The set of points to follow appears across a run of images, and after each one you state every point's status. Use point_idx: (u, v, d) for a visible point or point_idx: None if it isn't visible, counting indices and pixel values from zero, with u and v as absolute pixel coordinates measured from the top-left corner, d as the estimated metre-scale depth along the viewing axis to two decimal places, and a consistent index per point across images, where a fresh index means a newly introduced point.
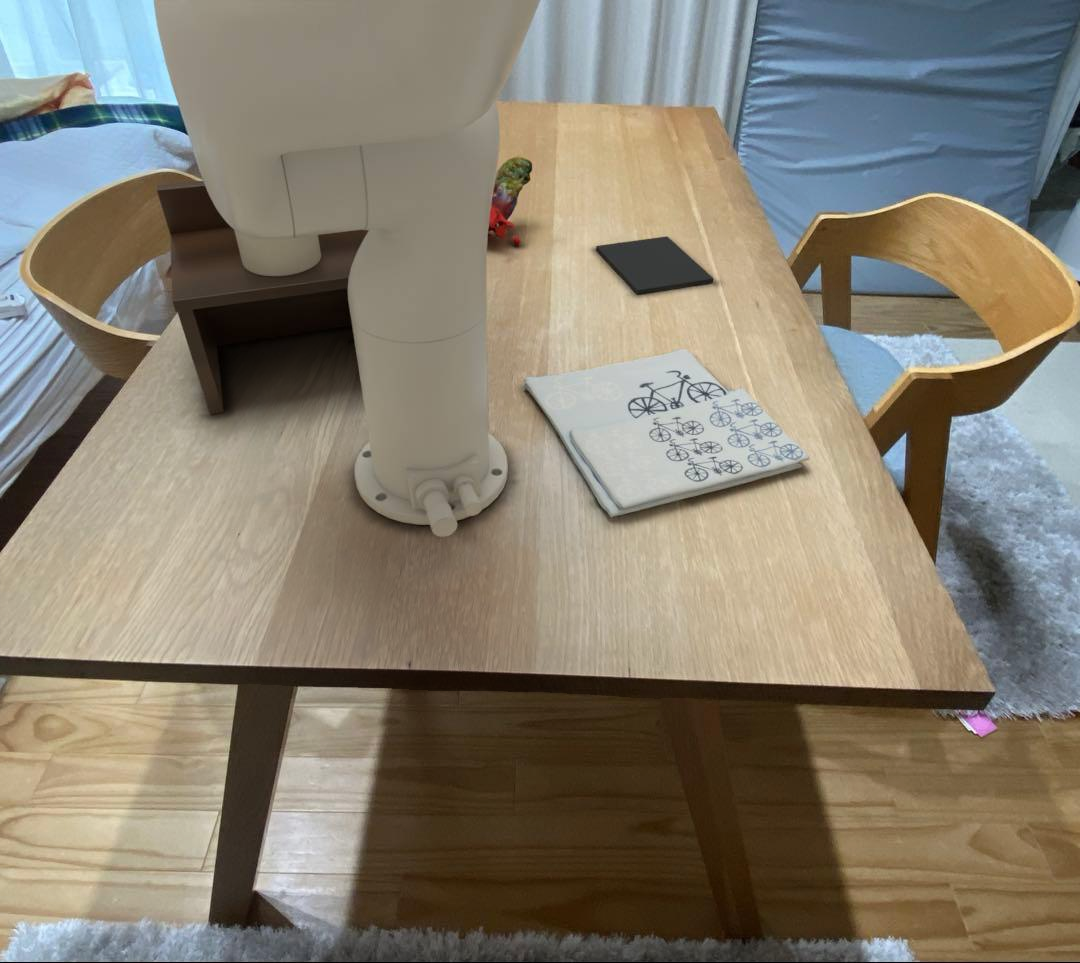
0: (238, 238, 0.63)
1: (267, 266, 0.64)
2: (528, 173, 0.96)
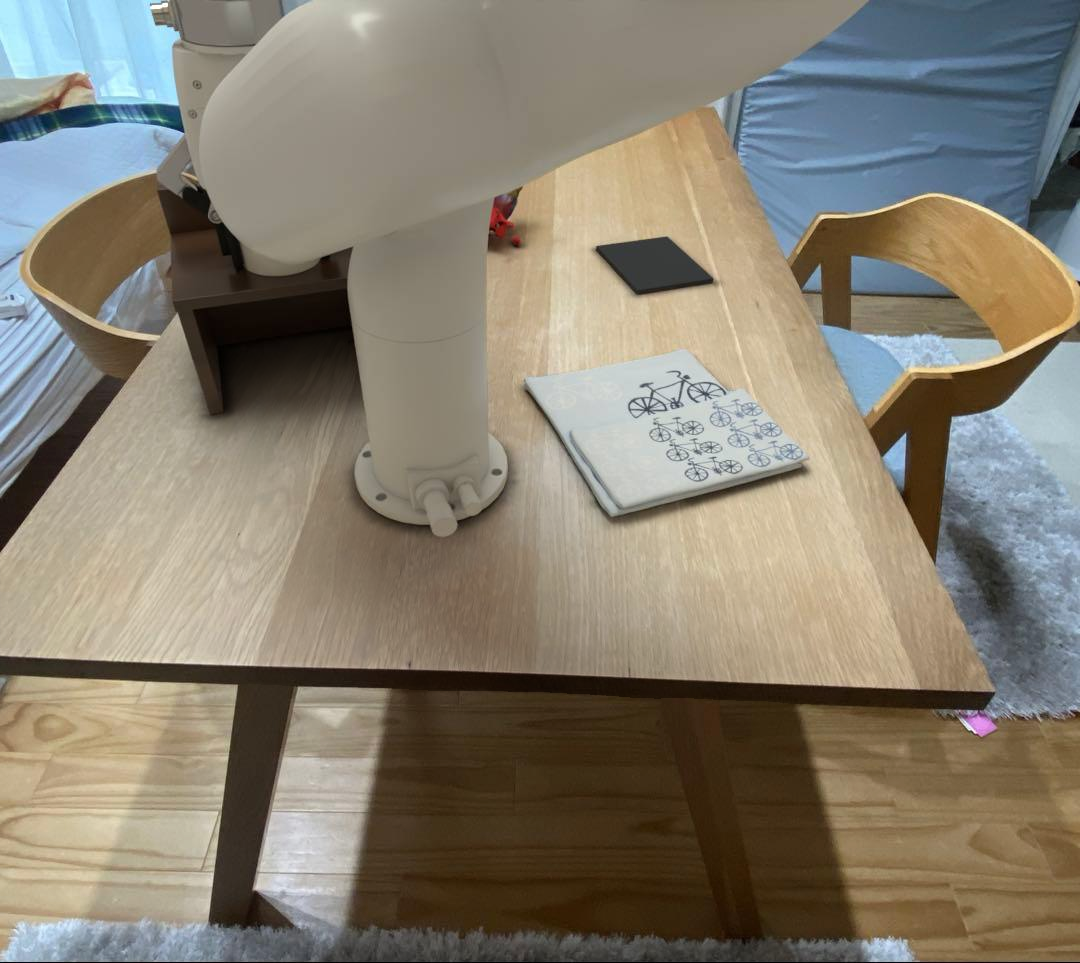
0: None
1: (267, 266, 0.64)
2: None
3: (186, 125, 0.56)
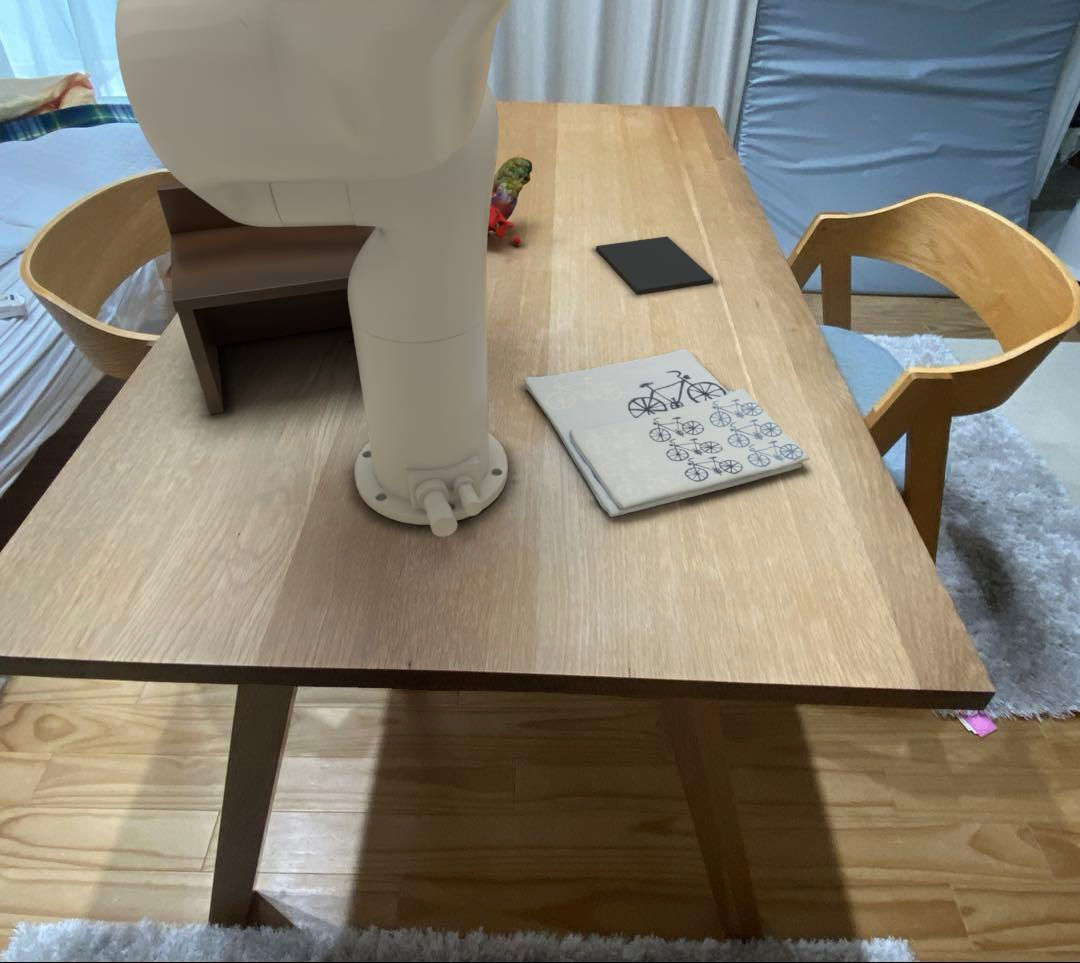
0: None
1: None
2: (528, 173, 0.96)
3: None
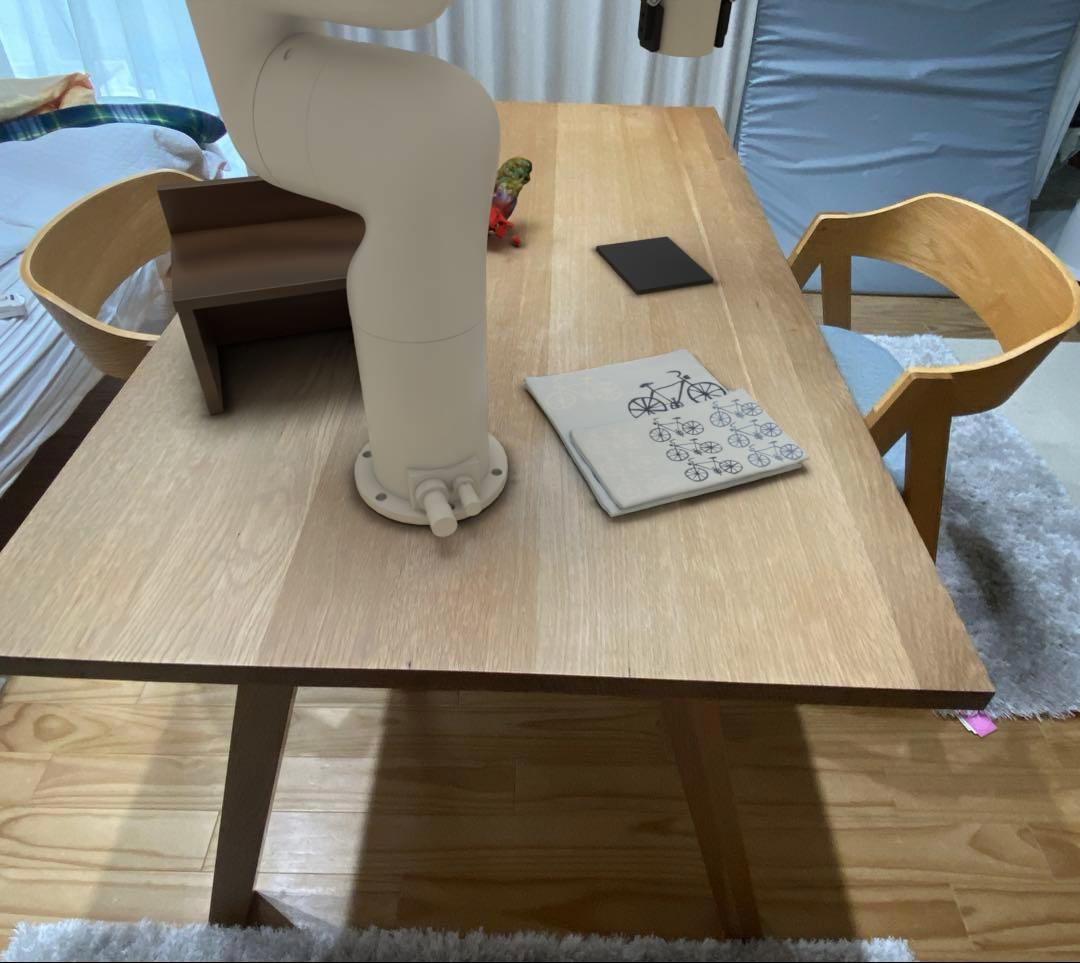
0: None
1: (683, 47, 0.75)
2: (528, 173, 0.96)
3: None
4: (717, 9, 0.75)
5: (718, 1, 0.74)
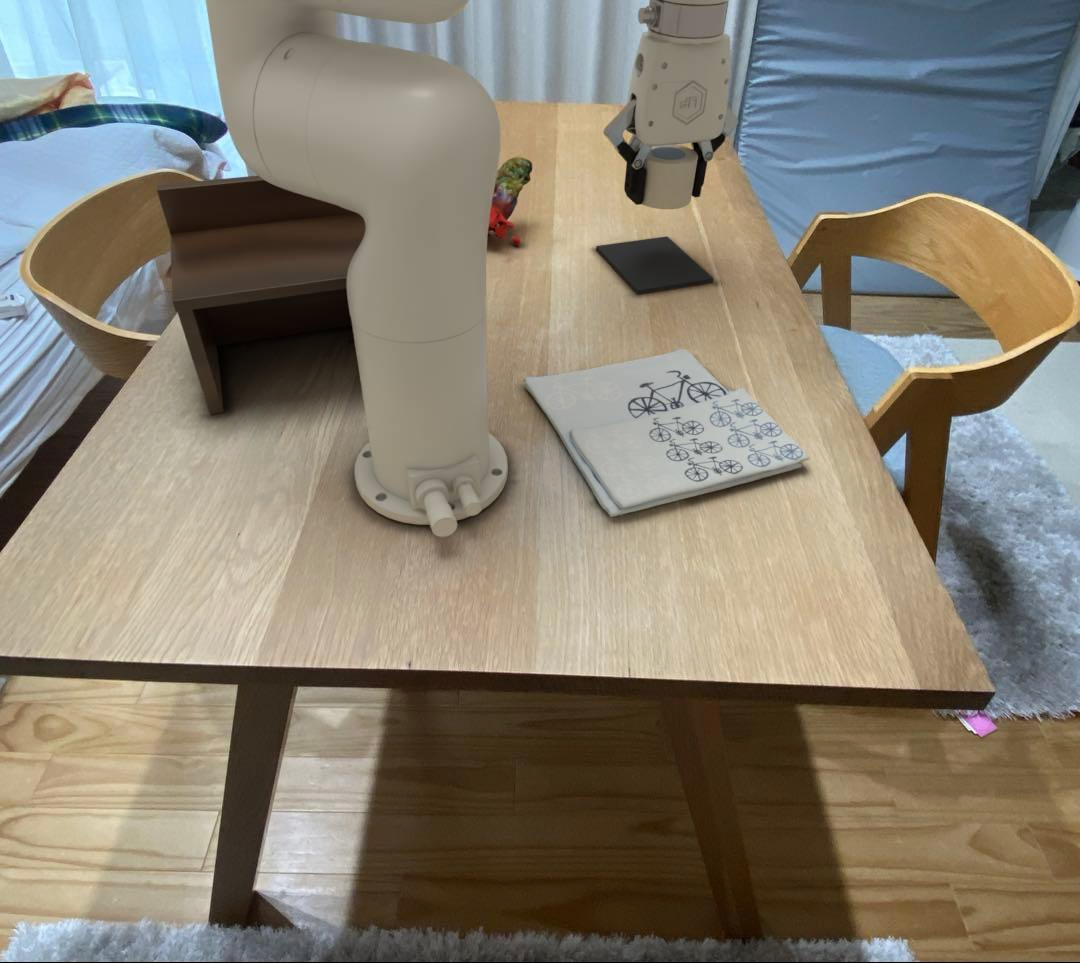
0: None
1: (664, 201, 0.86)
2: (528, 173, 0.96)
3: (647, 95, 0.78)
4: (693, 170, 0.85)
5: (694, 164, 0.85)
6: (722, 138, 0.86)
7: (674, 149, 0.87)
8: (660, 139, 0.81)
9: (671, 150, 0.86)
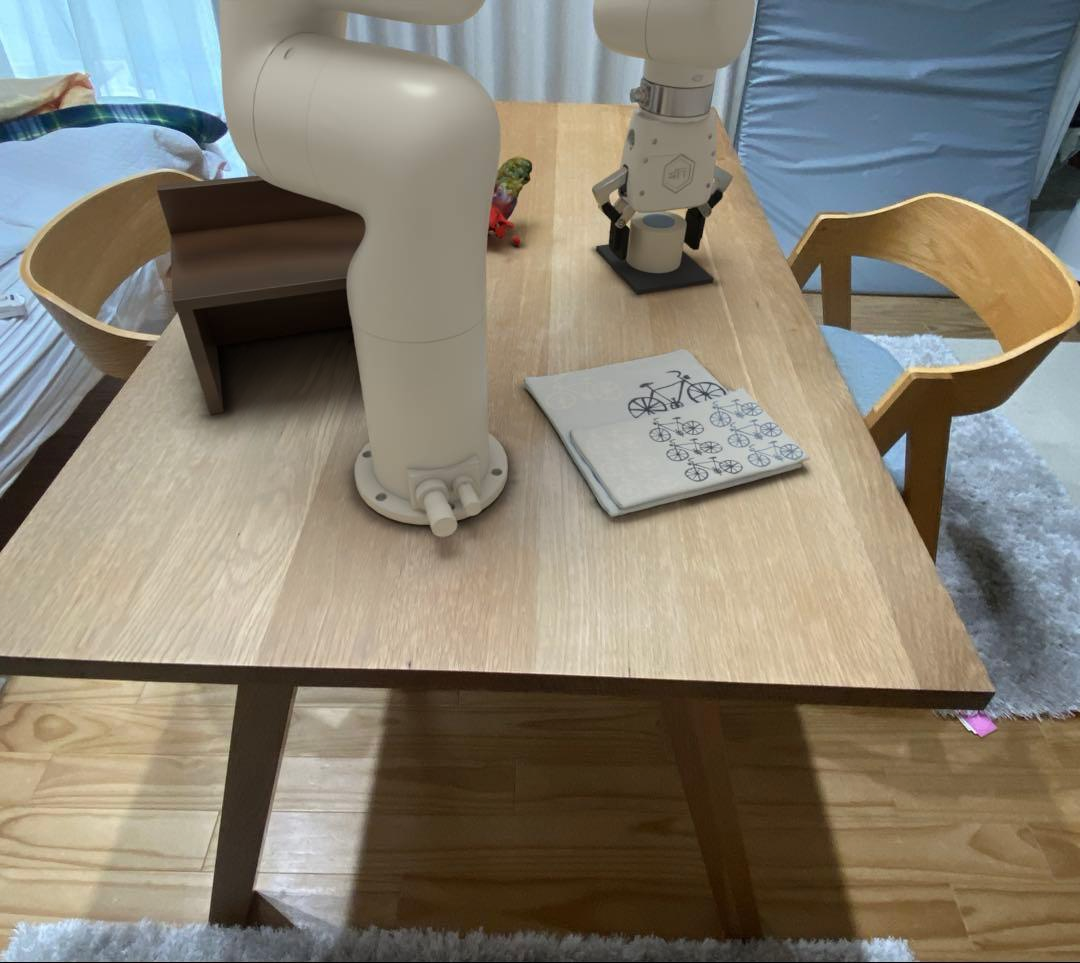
0: (636, 246, 0.91)
1: (655, 266, 0.91)
2: (528, 173, 0.96)
3: (638, 167, 0.83)
4: (682, 237, 0.90)
5: (683, 231, 0.90)
6: (720, 195, 0.90)
7: (664, 216, 0.92)
8: (651, 206, 0.86)
9: (661, 218, 0.91)
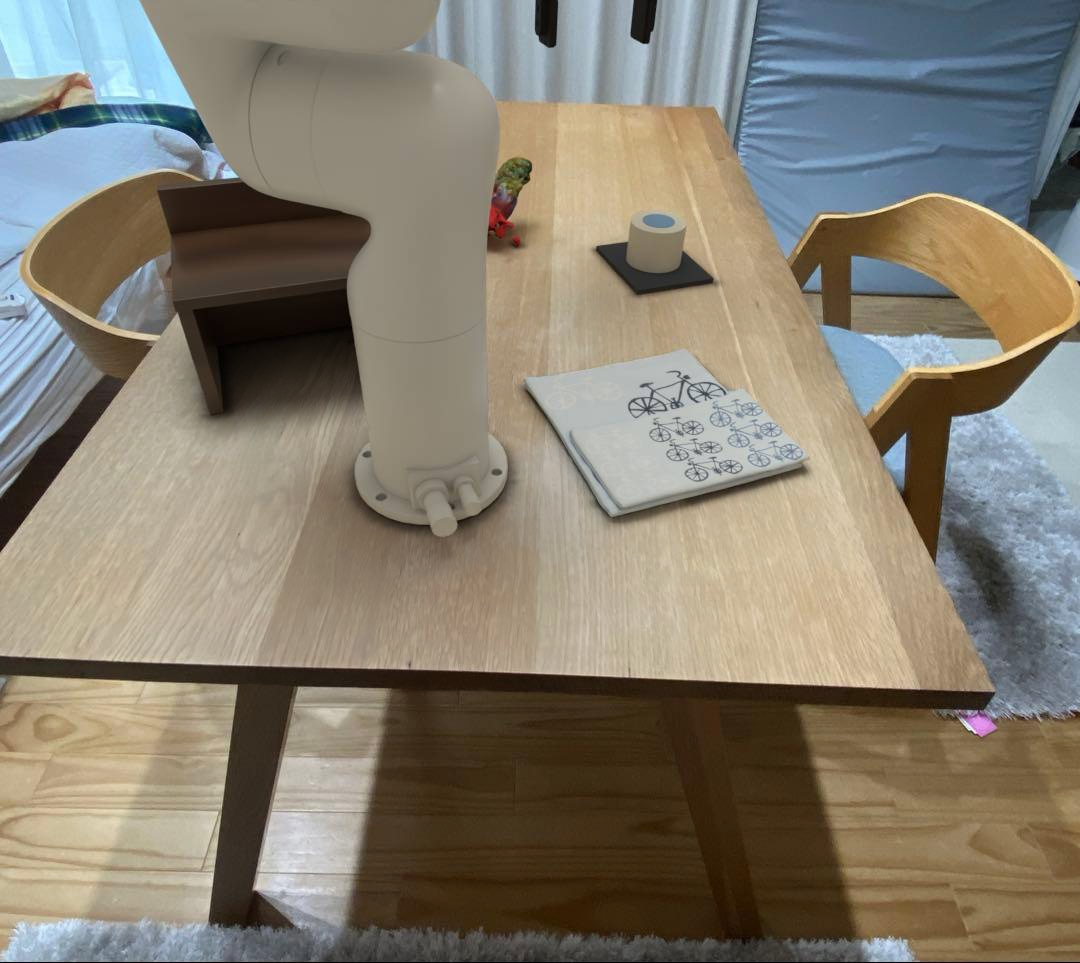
0: (636, 246, 0.91)
1: (655, 266, 0.91)
2: (528, 173, 0.96)
3: None
4: (682, 237, 0.90)
5: (683, 231, 0.90)
6: None
7: (664, 216, 0.92)
8: None
9: (661, 218, 0.91)
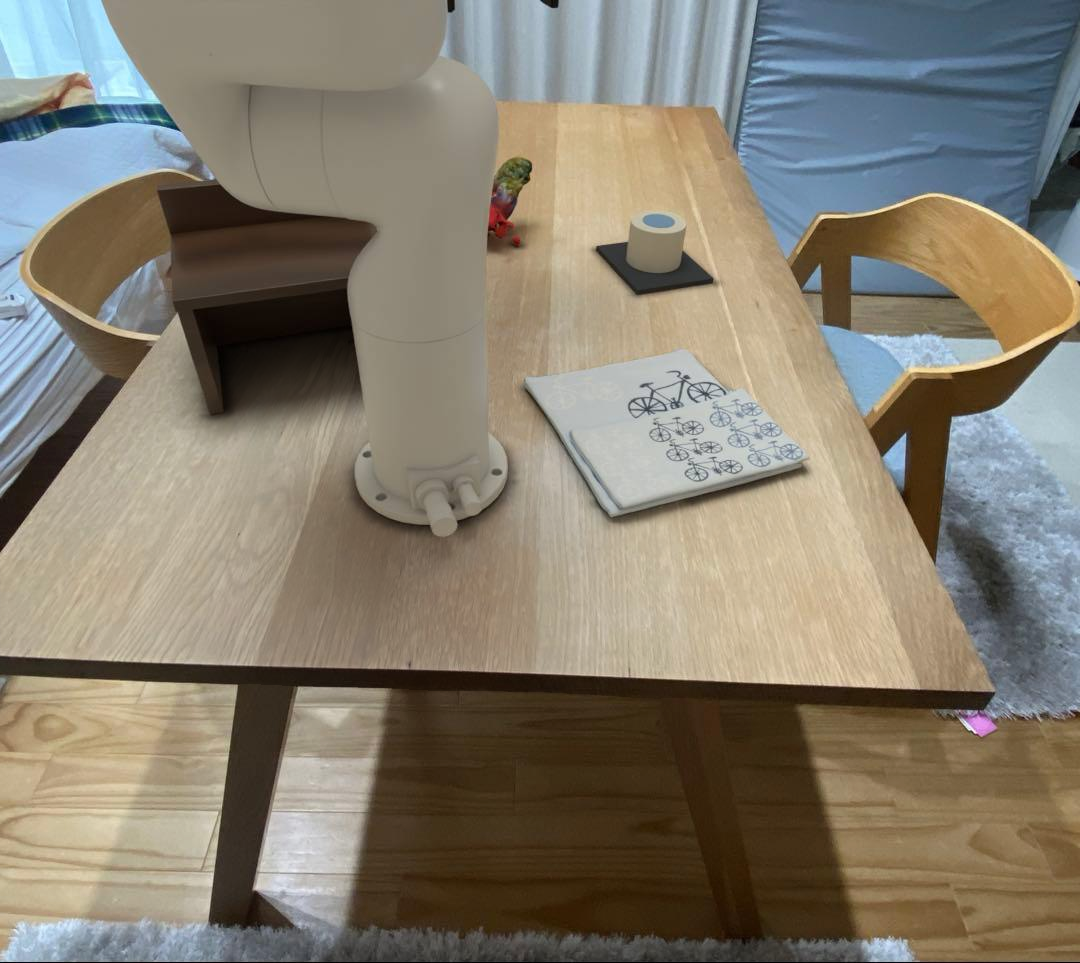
0: (636, 246, 0.91)
1: (655, 266, 0.91)
2: (528, 173, 0.96)
3: None
4: (682, 237, 0.90)
5: (683, 231, 0.90)
6: None
7: (664, 216, 0.92)
8: None
9: (661, 218, 0.91)
